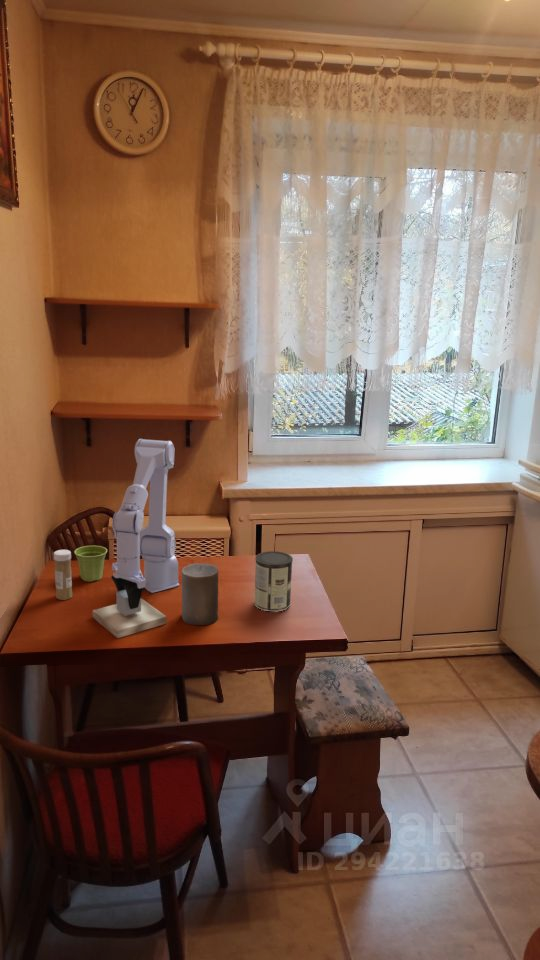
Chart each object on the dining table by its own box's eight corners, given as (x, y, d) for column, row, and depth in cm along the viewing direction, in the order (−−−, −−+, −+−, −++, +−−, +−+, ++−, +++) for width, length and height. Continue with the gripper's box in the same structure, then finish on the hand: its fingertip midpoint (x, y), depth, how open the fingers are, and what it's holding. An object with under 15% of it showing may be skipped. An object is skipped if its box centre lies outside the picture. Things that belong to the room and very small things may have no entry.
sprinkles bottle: (74, 598, 190) (73, 553, 187) (58, 601, 188) (56, 556, 184) (69, 592, 194) (67, 547, 190) (53, 595, 191) (51, 550, 188)
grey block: (132, 604, 181) (132, 587, 180) (140, 611, 177) (140, 593, 176) (116, 609, 178) (116, 591, 177) (125, 615, 175) (124, 598, 173)
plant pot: (82, 570, 209) (82, 544, 207) (112, 573, 208) (111, 546, 206) (70, 582, 200) (69, 555, 198) (100, 585, 199) (100, 557, 197)
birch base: (140, 604, 188) (139, 597, 188) (166, 623, 178) (166, 616, 177) (92, 617, 179) (92, 610, 179) (117, 638, 169) (117, 631, 169)
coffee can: (271, 593, 198) (273, 548, 195) (297, 605, 191) (300, 558, 188) (246, 604, 191) (247, 556, 187) (273, 616, 184) (275, 567, 180)
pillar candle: (225, 618, 182) (226, 565, 178) (197, 629, 175) (197, 575, 171) (202, 606, 188) (202, 555, 185) (173, 616, 182) (173, 564, 178)
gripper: (101, 549, 177) (102, 598, 180) (127, 567, 166) (128, 618, 170) (125, 544, 181) (126, 591, 185) (153, 561, 170) (153, 611, 174)
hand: (129, 604), depth 177 cm, fingers closed on grey block, 5 cm apart
